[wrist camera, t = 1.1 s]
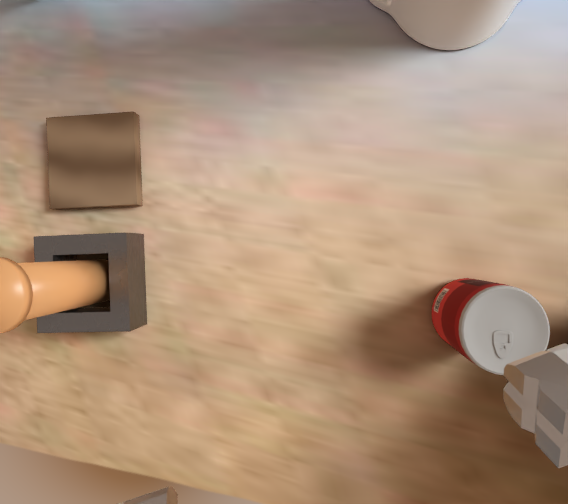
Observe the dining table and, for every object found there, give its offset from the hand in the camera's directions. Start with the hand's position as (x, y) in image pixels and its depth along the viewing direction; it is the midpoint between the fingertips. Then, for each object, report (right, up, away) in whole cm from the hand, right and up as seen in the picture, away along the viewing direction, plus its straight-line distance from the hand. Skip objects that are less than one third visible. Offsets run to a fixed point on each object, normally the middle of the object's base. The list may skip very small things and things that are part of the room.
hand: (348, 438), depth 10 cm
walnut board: (-25, +15, +42) cm, 51 cm away
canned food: (+19, -3, +38) cm, 43 cm away
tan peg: (-24, +1, +42) cm, 48 cm away
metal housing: (-24, +1, +42) cm, 48 cm away
